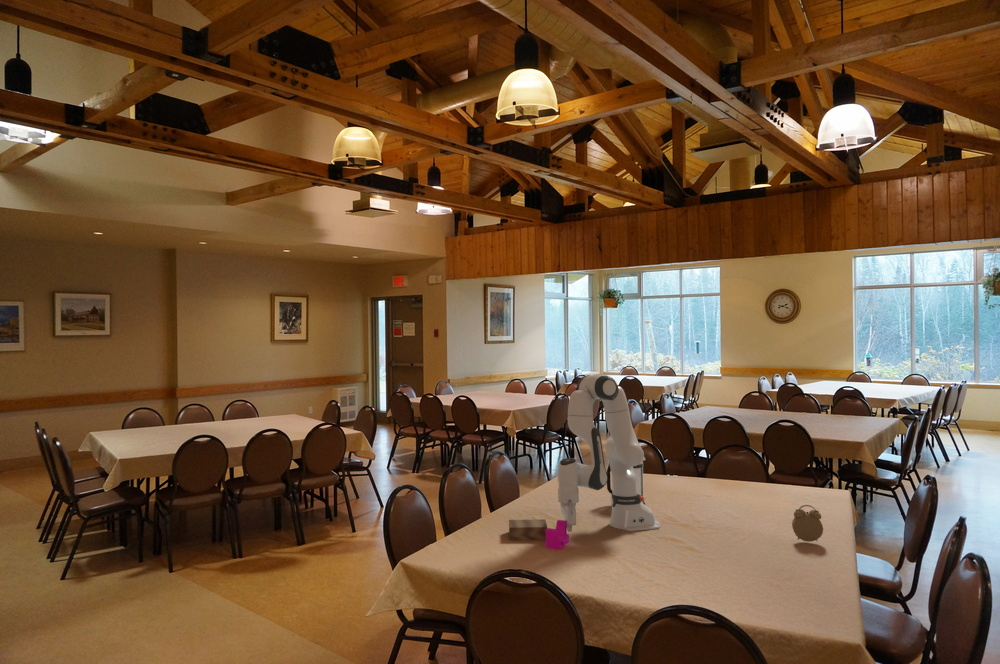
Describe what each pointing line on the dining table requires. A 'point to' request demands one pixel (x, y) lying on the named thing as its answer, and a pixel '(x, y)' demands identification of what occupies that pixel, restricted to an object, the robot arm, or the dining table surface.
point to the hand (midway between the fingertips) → (568, 529)
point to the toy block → (557, 535)
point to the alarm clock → (807, 524)
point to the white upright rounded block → (639, 475)
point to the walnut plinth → (527, 529)
